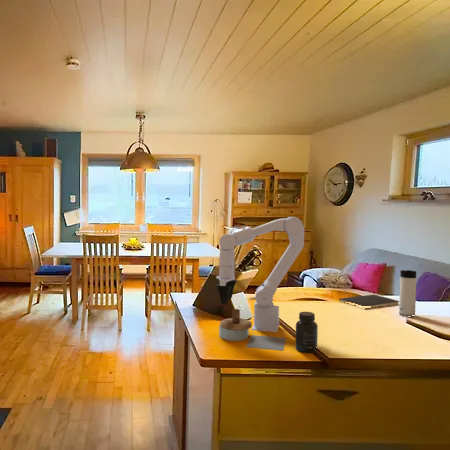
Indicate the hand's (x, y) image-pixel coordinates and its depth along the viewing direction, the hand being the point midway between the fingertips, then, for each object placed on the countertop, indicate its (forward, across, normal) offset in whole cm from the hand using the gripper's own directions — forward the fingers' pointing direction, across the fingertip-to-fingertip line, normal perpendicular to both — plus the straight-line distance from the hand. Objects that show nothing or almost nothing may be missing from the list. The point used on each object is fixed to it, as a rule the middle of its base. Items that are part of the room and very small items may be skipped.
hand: (226, 301), depth 142 cm
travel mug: (+10, -36, +72) cm, 81 cm away
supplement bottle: (+10, +17, +30) cm, 36 cm away
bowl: (+10, +10, +5) cm, 15 cm away
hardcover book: (+11, -55, +59) cm, 81 cm away
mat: (+10, +14, +17) cm, 24 cm away
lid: (+6, +10, +6) cm, 13 cm away
